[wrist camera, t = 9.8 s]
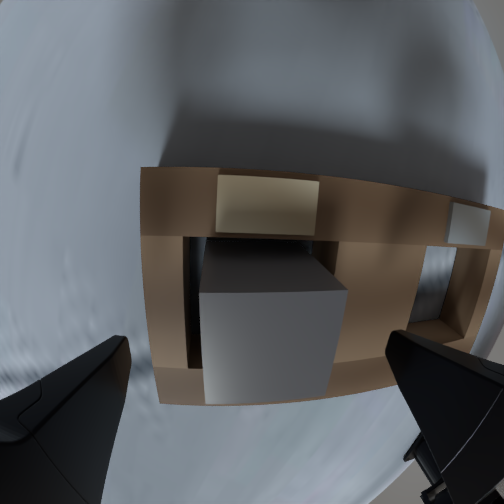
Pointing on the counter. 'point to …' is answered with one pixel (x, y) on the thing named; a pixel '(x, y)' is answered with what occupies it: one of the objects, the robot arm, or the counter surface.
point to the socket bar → (324, 251)
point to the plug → (267, 322)
